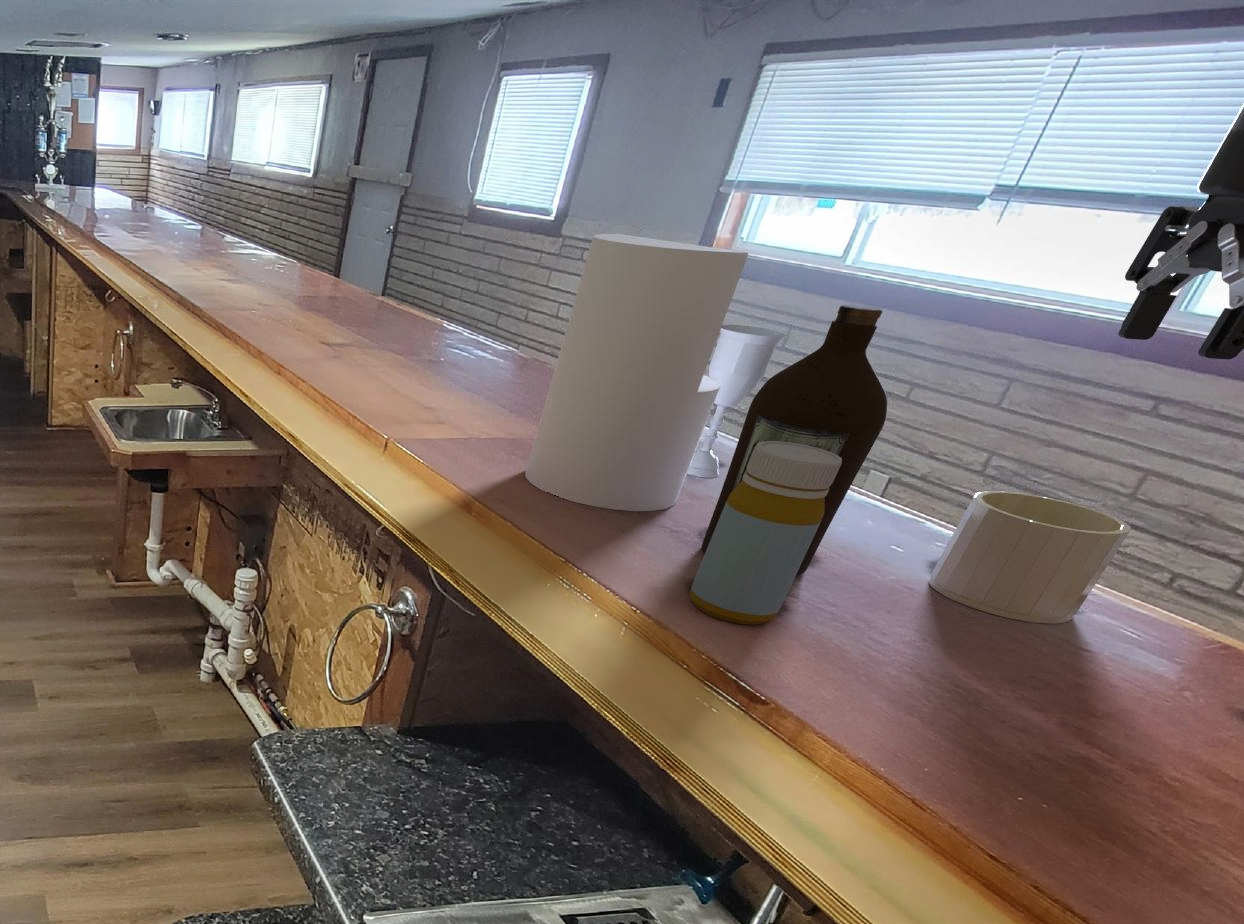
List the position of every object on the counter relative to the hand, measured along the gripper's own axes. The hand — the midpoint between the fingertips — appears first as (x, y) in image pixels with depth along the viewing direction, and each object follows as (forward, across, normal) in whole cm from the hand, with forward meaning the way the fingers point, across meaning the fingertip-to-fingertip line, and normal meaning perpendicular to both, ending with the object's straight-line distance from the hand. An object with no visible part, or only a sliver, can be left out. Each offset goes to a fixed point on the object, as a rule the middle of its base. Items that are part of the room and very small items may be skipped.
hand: (1171, 347), depth 76 cm
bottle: (+24, -11, +30) cm, 40 cm away
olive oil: (+24, +3, +23) cm, 33 cm away
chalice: (+24, +34, +18) cm, 45 cm away
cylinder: (+24, +23, +33) cm, 47 cm away
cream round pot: (+24, 0, +2) cm, 24 cm away
